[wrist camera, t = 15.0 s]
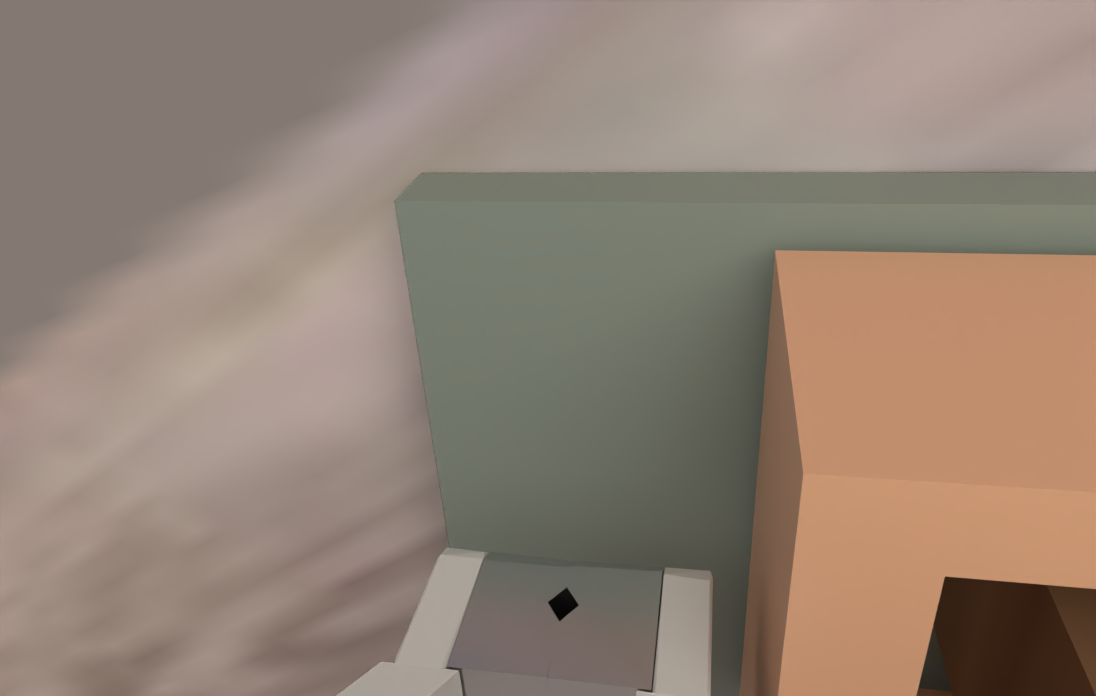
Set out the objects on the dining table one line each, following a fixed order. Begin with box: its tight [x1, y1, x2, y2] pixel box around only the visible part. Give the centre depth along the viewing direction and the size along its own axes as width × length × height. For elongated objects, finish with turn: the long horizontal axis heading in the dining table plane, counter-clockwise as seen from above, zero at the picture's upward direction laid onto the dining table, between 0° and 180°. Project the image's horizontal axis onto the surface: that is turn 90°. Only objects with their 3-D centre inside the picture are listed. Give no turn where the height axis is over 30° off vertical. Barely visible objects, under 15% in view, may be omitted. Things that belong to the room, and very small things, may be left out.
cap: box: [739, 250, 1096, 696], centre depth 8 cm, size 6×7×4 cm
